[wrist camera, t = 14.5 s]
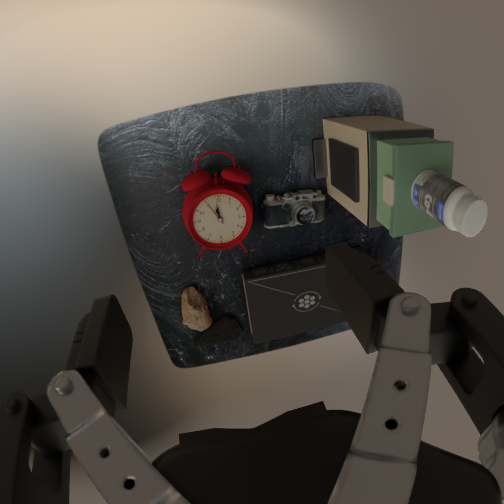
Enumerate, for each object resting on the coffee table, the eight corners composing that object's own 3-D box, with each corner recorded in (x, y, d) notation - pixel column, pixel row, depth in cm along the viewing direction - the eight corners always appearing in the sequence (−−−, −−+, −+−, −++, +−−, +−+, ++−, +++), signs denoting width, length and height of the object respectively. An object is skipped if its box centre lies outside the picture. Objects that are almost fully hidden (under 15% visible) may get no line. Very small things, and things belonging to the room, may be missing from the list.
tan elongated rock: (202, 278, 55) (175, 286, 53) (211, 288, 52) (182, 298, 50) (209, 324, 60) (184, 332, 58) (217, 335, 57) (191, 345, 55)
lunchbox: (371, 137, 33) (394, 145, 29) (432, 134, 34) (455, 142, 30) (371, 222, 38) (390, 238, 34) (427, 211, 39) (448, 224, 35)
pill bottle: (403, 187, 32) (454, 218, 24) (430, 160, 31) (484, 185, 23) (419, 216, 34) (466, 250, 26) (444, 190, 33) (494, 219, 26)
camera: (258, 193, 48) (265, 202, 45) (323, 187, 50) (334, 195, 46) (260, 224, 51) (266, 235, 47) (322, 217, 52) (332, 227, 48)
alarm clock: (188, 264, 47) (174, 172, 37) (186, 237, 52) (174, 152, 42) (258, 254, 49) (259, 163, 39) (250, 229, 53) (250, 144, 43)
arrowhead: (245, 335, 60) (198, 355, 60) (244, 333, 61) (197, 353, 61) (232, 315, 57) (182, 336, 57) (231, 312, 57) (182, 333, 57)
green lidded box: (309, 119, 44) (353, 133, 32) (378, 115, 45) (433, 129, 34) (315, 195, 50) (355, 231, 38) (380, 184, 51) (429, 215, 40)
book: (360, 244, 56) (367, 252, 54) (355, 308, 63) (361, 317, 61) (240, 268, 54) (243, 278, 51) (251, 333, 61) (254, 344, 58)
